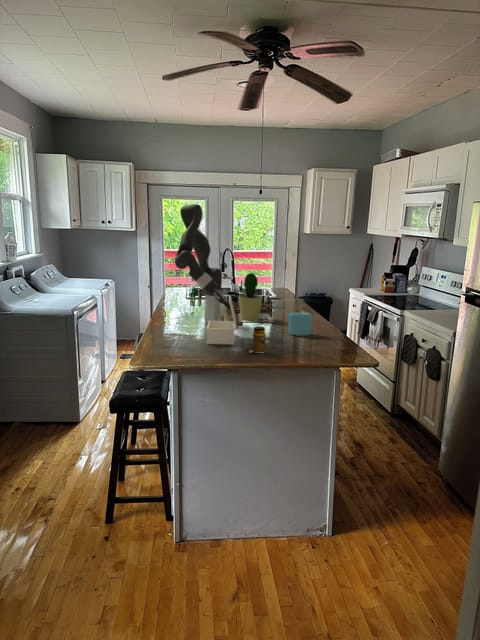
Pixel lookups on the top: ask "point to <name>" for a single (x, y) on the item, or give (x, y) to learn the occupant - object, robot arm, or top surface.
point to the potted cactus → (250, 300)
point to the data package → (300, 324)
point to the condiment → (259, 339)
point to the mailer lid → (232, 311)
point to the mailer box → (220, 332)
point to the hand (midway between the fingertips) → (229, 307)
